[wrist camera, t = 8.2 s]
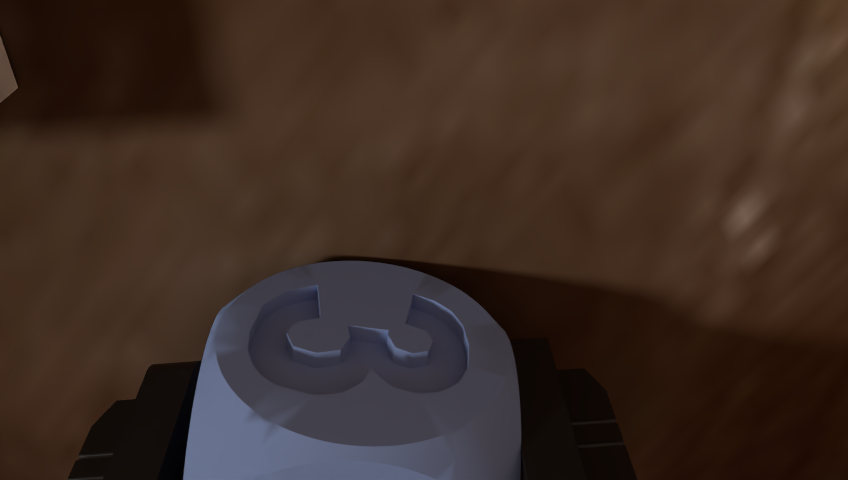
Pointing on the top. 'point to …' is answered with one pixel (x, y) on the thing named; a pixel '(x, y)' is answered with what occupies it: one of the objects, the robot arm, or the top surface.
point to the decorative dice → (355, 382)
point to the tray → (6, 75)
